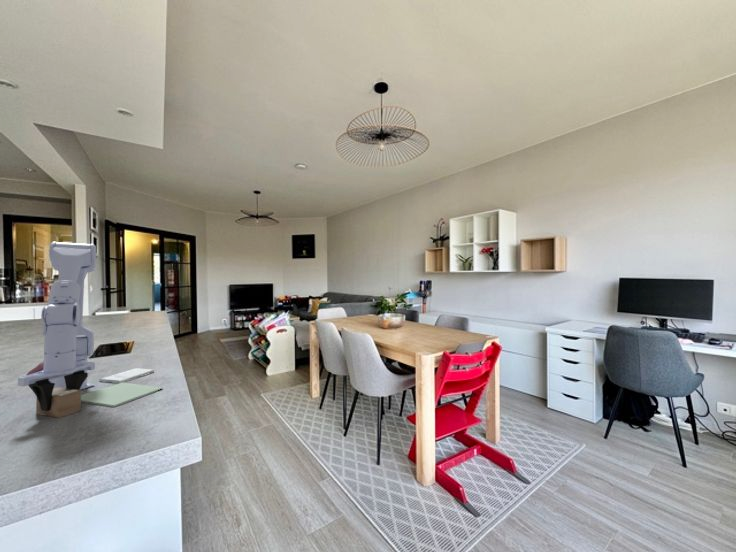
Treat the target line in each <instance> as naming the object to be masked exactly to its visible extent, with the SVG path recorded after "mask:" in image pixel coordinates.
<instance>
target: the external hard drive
mask: <svg viewBox="0 0 736 552" xmlns="http://www.w3.org/2000/svg"><path fill="white" fill-rule="evenodd" d="M151 372H154V373H155V370H154V369H151V368H150V369H149V368H140V367H138V368H137V367H135V368H132V369H128V370H125V371H121V372H118V373H116V374H112V375H109V376H105V377H102V378H99V380H98V381H105V382H104V383H111V382H113V383H112V384H119V383H123V382H124V383H127V382H129V381H132V380H135V379H138V378H140V377H139V376H141V377H143V376H142V375H145V374H148V373H151ZM151 374H152V373H151ZM148 375H149V374H148ZM145 376H146V375H145ZM137 377H138V378H137ZM134 378H135V379H134Z"/></svg>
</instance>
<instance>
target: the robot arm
mask: <svg viewBox="0 0 736 552" xmlns="http://www.w3.org/2000/svg"><path fill="white" fill-rule="evenodd" d="M48 250H49V251H48V256H49V261H50V263H51V266H52V267H53V270H54V271H56V272H58V280H57V281H55V282H53V283H52V285H51V286H50V290H49V291H50V292H49V295H48V299H47V305H46V306H43V307H42V309H41V315H40V316H41V317H40V320H41V324H42V335H44V337H43V339H44V342H43V345H44V346H43V361H44V368H43V371H40V372H36V373H33V374H30V375H27V374H26V375H23V376H19V377H17V386H18V387H22V388H23V387H26V386H28V388H29V389H31V391H32V392H33V394H34V395H35V398H36V400H37V399H38V401H39V403H40V407H41V410H43V411H49V410H50V409H51V399H52V392H53V389H54V388H58V387H61V388H68V389H75V390H81V391H82V390H84V389H87V388H92V387H94V386H95V383H89V382H88V376H89V373H88V371H94V370H95V368H96V362H95V361H88V358H89V357H92V355H93V354H94V349H95V339H94V332H93V330H92V329H90V328H88V327H86V326H84V325H83V315H84V295H85V293H84V291H85V279H86V277H87V275H88V273H91V272H94V271H95V268H96V260H97V247H96V245H95V244H94V243H79V242H74V243H73V242H61V241H60V242H58V241H52V242H51V243H50V244H49V249H48Z"/></svg>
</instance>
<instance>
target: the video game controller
mask: <svg viewBox="0 0 736 552" xmlns="http://www.w3.org/2000/svg"><path fill="white" fill-rule="evenodd" d="M43 368H44V360H43V361H41V362H40V363H39V364H37V365H36V366H35V367H34V368H32V369H31V370H29V371H28V372H27V373H26V375H30V374H33V373H36V372H40V371H43Z"/></svg>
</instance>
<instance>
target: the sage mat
mask: <svg viewBox="0 0 736 552" xmlns="http://www.w3.org/2000/svg"><path fill="white" fill-rule="evenodd" d="M160 389H162V390H163V387H160V386H153V385H152V386H151V385H145V384H140V383H139V384H137V383H131V382H130V383H129V382H123V383H115V384H114V385H109V386H106V387H103V388H99V389H97V390H93V391H90V392H86V393H84V394H81V403H86V404H92V405H97V406H98V405H99V406H104V407H111V408H115V407H118V406H120V405H121V406H122V405H123V404H124V405H125V404H126V403H129V402H132V401H134V400H137V399H139V398H142V397H143V398H144V397H145V396H148V395H151V394H154V393H156V392H159V391H161V390H160ZM158 390H159V391H158ZM155 391H156V392H155ZM153 392H154V393H153Z"/></svg>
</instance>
